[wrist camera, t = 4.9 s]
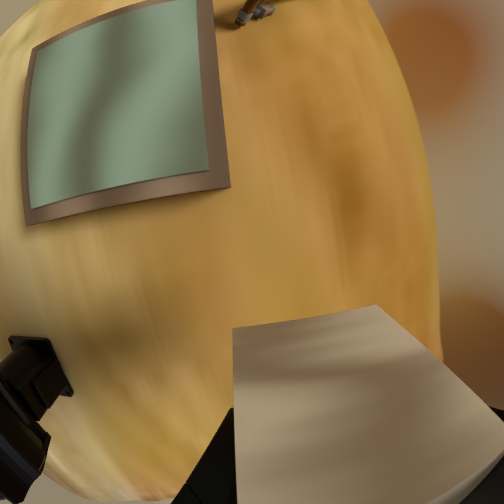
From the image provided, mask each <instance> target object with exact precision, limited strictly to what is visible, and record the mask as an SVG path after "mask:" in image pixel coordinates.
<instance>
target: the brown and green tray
mask: <svg viewBox="0 0 504 504" xmlns="http://www.w3.org/2000/svg"><path fill="white" fill-rule="evenodd" d="M21 179H22V193H23V203H24V212H25V220H26V226H30V225H34V224H38V223H42V222H47V221H51V220H55V219H59V218H63V217H67V216H71V215H76V214H80V213H84V212H89V211H93V210H98V209H103V208H107V207H112V206H117V205H122V204H128V203H133V202H138V201H144V200H149V199H155V198H161V197H167V196H173V195H180V194H187V193H193V192H200V191H208V190H215V189H223V188H231V184H230V175H229V166H228V157H227V148H226V138H225V129H224V119H223V110H222V100H221V90H220V79H219V69H218V59H217V48H216V37H215V25H214V14H213V3H212V0H147V1H143V2H139V3H136V4H132V5H129V6H126V7H123V8H120V9H117V10H114V11H111V12H108V13H105V14H103V15H100V16H98V17H95V18H93V19H90V20H88V21H85V22H83V23H81V24H79V25H76V26H74V27H72V28H70V29H68V30H66V31H64V32H62V33H60V34H58V35H56V36H54V37H52V38H50V39H48V40H46V41H45V42H43V43H41V44H39V45H38V46H36V47H34V48H33V49H32V52H31V57H30V61H29V66H28V72H27V78H26V84H25V91H24V100H23V110H22V123H21Z"/></svg>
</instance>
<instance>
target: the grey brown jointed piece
mask: <svg viewBox="0 0 504 504" xmlns="http://www.w3.org/2000/svg"><path fill="white" fill-rule="evenodd" d="M263 1H264V0H247V2H246V3H245V5H244V7H243V8H242V9H240V11H239V12H238V14H237V16H238V17H237V18H236V20H235V22H234V23H235V24H237V25H238V26H239V27H241V26H245V24H246V22H247V20H249V19H250V18H251V17H252V15H254V16H255V17H256V16H257V17H259V18H260V19H262V18H263V17H264V16H271V15H272V13H273V12H274V11H275V7H274V6H272V5H270V4H269V3H268V2H266V3H265V4H262V5H260V3H261V2H263Z"/></svg>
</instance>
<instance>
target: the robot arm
mask: <svg viewBox="0 0 504 504" xmlns="http://www.w3.org/2000/svg"><path fill="white" fill-rule="evenodd" d="M8 341H9V343H10V346H11V348H12V350H13V352H12V353H11V354H9V355H8V356H7V357H6V358H5V359H4V360H3V361H2V362H1V363H0V500H5V499H7V500H8V501H10V502H11V503H12V504H18V503H20V502H23V501H24V499H25V497H26V494H27V492H28V490H29V488H30V486H31V485H32V483H33V482H34V481H35V480H36V479H37V478H38V477H39V476H40V475H41V473H42V471H43V468H44V465H45V460H46V456H47V451H48V447H49V443H50V440H51V436H50V435H49V434H48V432H46V431H45V430H44V429H43V428H42V427H41V426H40V425H39V424H38V422H37V421H40V419H41V418H42V417H43V415H44V414H45V412H46V411H47V409H50V408H51V406H52V405H53V403H54V402H55V401H56V399H57V398H58V396H59V395H62V396H68V397H72V395H73V394H74V392H73V390H72V388H71V386H70V384H69V382H68V380H67V378H66V376H65V374H64V372H63V370H62V368H61V365H60V363H59V361H58V359H57V357H56V354H55V352H54V350H53V347H52V345H51V343H50V341H49V340H48V339H47V338H34V337H19V336H10V337H9V338H8ZM488 407H489V408H490V409H491V410H492V411H493V412H494V413H495V414H496V415H497V416H498V417H499V418H500V419H501V420H502V421H503V422H504V410H500V409H496V408H493V407H490V406H488ZM171 504H238V503H237V483H236V459H235V430H234V408H230V409H229V411H228V413H227V415H226V416H225V418H224V420H223V422H222V423H221V425H220V427H219V428H218V430H217V432H216V434H215V435H214V437H213V439H212V440H211V442H210V444H209V445H208V447H207V449H206V450H205V452H204V454H203V455H202V457H201V458H200V460H199V462H198V463H197V465H196V467H195V468H194V470H193V471H192V473H191V474H190V476H189V478H188V479H187V481H186V483H185V484H184V485H183V487H182V488H181V490H180V491H179V493H178V494H177V496H176V497H175V498H174V500H173V501H172V503H171ZM459 504H504V456H503V457H502V458H501V459H500V461H499V462H498V463H497V464H496V465H495V467H494V468H493V469H492V470H491V471H490V472H489V474H488V475H487V476H486V477H485V478H484V479H483V480H482V481H481V482H480V483H479V484H478V485H477V486H476V487H475V488H474V489H473V490H472V491H471V492H470V493H469V494H468V495H467V496H466V497H465V498H464V499H463V500H462V501H461V502H460V503H459Z"/></svg>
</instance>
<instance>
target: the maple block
mask: <svg viewBox="0 0 504 504" xmlns="http://www.w3.org/2000/svg"><path fill="white" fill-rule="evenodd" d="M233 393H234V430H235V459H236V483H237V503H238V504H459V503H460V502H461V501H462V500H463V499H464V498H465V497H466V496H467V495H468V494H469V493H470V492H471V491H472V490H473V489H474V488H475V487H476V486H477V485H478V484H479V483H480V482H481V481H482V480H483V479H484V478H485V477H486V476H487V475H488V474H489V472H490V471H491V470H492V469H493V468H494V467H495V465H496V464H497V463H498V462H499V461H500V459H501V458H502V457H503V456H504V422H503V421H502V420H501V419H500V418H499V417H498V416H497V415H496V414H495V413H494V412H493V411H492V410H491V409H490V408H489V407H488V406H487V405H486V404H485V403H484V402H483V401H482V400H481V399H480V398H479V397H478V396H477V395H476V394H475V393H474V392H473V391H472V390H471V389H470V388H469V387H468V386H467V385H466V384H464V383H463V382H462V381H461V380H460V379H459V378H458V377H457V376H456V375H455V374H454V373H453V372H452V371H451V370H450V369H449V368H447V367H446V366H445V365H444V364H443V363H442V362H441V361H440V360H439V359H438V358H437V357H436V356H434V355H433V354H432V353H431V352H430V351H429V350H428V349H427V348H426V347H424V346H423V345H422V344H421V343H420V342H419V341H418V340H417V339H416V338H414V337H413V336H412V335H411V334H410V333H409V332H408V331H406V330H405V329H404V328H403V327H402V326H401V325H400V324H398V323H397V322H396V321H395V320H394V319H393V318H392V317H390V316H389V315H388V314H387V313H386V312H385V311H383V310H382V309H381V308H380V307H379V306H377V305H372V306H367V307H363V308H358V309H353V310H348V311H343V312H337V313H332V314H327V315H321V316H315V317H309V318H303V319H297V320H291V321H284V322H277V323H270V324H263V325H255V326H247V327H239V328H233Z"/></svg>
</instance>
